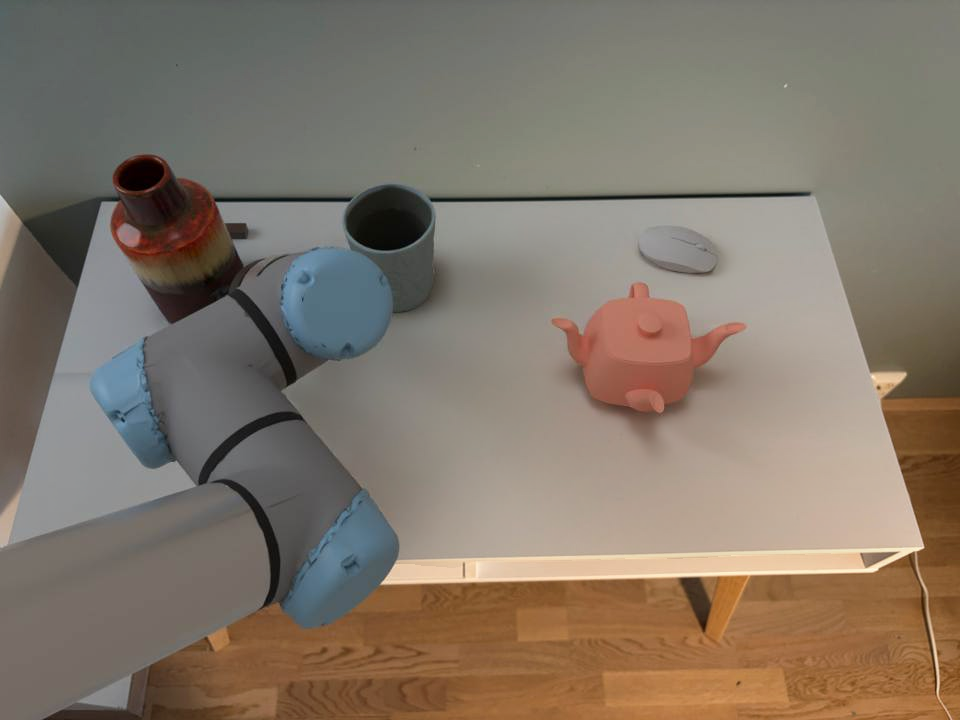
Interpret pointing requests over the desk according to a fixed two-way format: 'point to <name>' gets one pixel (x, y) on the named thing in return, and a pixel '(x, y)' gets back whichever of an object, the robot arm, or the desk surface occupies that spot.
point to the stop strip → (237, 230)
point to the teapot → (641, 350)
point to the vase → (171, 236)
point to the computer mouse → (678, 249)
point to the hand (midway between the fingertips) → (223, 299)
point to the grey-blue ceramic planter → (395, 238)
